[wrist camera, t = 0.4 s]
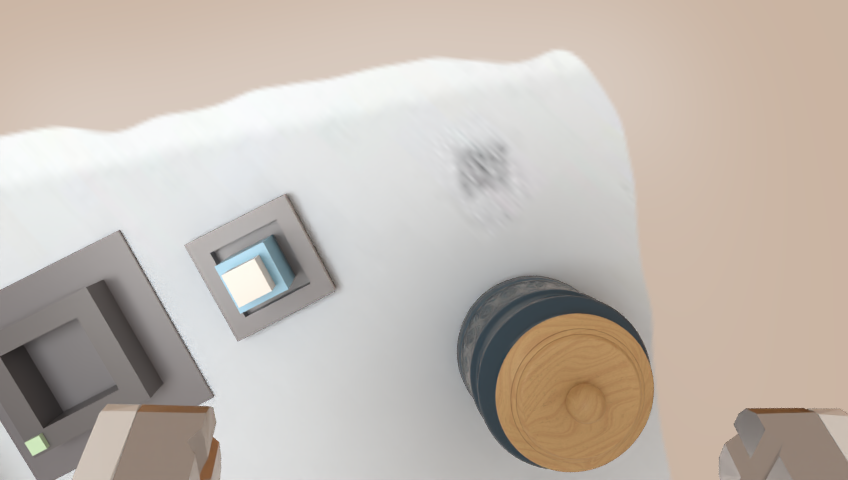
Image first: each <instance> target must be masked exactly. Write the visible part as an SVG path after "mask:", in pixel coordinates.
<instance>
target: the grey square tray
mask: <svg viewBox="0 0 848 480" xmlns="http://www.w3.org/2000/svg"><path fill="white" fill-rule="evenodd" d="M271 235H274V237H275V239H276V241H277V243H278V245H279V246H280V248H281V250H282V252H283V254H284V256H285V258H286V259H287V261H288V263H289V265H290V267H291V269H292V271H293V272H294V274H295V278H294V280H293V282H292V284H291V285H290V287H289V289H288V290H286V291H284V292H282V293H280V294H278V295H276V296H274V297H272V298H270V299H268V300H267V301H265V302H263V303H261V304H259V305H257V306H255V307H253V308H251V309H249V310H247V311H245V312H243V313H241V314H240V312H239V310H238V309H237V307H236V305H235V303H234V301H233V300H232V298H231V296H230V294H229V292H228V291H227V289H226V287H225V285H224V283H223V282H222V280H221V278H220V276H219V274H218V272H217V271H216V269H215V266H216V265H218V264H219V263H221V262H222V261H224V260H225V259H227V258H228V257H229V256H231V255H233V254H235V253H237V252H239V251H241V250H243V249H245V248H247V247H249V246H251V245H253V244H255V243H257V242H259V241H261V240H263V239H265V238H267V237H269V236H271ZM184 246H185V247H186V249H187V251H188V253H189V255H190V256H191V258H192V260H193V262H194V264H195V265H196V267H197V269H198V271H199V273H200V274H201V276H202V278H203V280H204V282H205V283H206V285H207V287H208V289H209V291H210V292H211V294H212V296H213V298H214V300H215V301H216V303H217V305H218V307H219V309H220V310H221V312H222V314H223V316H224V318H225V319H226V321H227V323H228V325H229V327H230V328H231V330H232V332H233V334H234V336H235V337H236V339H237V341H240V340H242V339H244V338H246V337H248V336H249V335H251V334H253V333H255V332H257V331H259V330H261V329H263V328H265V327H267V326H269V325H271V324H273V323H275V322H277V321H279V320H280V319H282V318H284V317H286V316H288V315H290V314H292V313H294V312H296V311H298V310H300V309H302V308H304V307H306V306H308V305H310V304H312V303H313V302H315V301H317V300H319V299H321V298H323V297H325V296H327V295H329V294H331V293H333V292H335V289H336V287H335V285H334V283H333V281H332V279H331V278H330V276H329V274H328V272H327V270H326V268H325V266H324V264H323V262H322V261H321V259H320V257H319V255H318V253H317V251H316V249H315V247H314V246H313V244H312V242H311V240H310V238H309V236H308V234H307V232H306V230H305V229H304V227H303V225H302V223H301V221H300V219H299V217H298V215H297V213H296V212H295V210H294V208H293V206H292V204H291V202H290V200H289V198H288V196H287V195H286V194H284V195H282V196H280V197H278V198H276V199H274V200H272V201H270V202H268V203H266V204H264V205H262V206H261V207H259V208H257V209H255V210H253V211H251V212H249V213H247V214H245V215H243V216H241V217H239V218H237V219H235V220H233V221H231V222H229V223H227V224H225V225H223V226H221V227H219V228H217V229H215V230H213V231H211V232H209V233H207V234H205V235H203V236H201V237H199V238H197V239H195V240H193V241H191V242H189V243H187V244H186V245H184Z"/></svg>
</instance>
